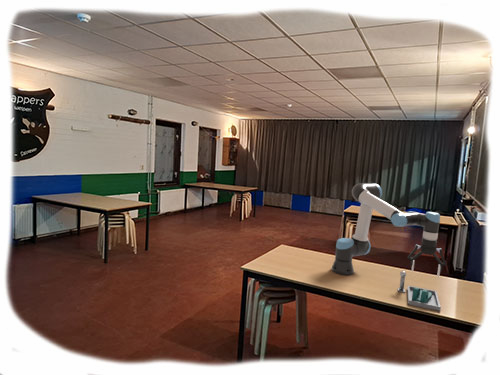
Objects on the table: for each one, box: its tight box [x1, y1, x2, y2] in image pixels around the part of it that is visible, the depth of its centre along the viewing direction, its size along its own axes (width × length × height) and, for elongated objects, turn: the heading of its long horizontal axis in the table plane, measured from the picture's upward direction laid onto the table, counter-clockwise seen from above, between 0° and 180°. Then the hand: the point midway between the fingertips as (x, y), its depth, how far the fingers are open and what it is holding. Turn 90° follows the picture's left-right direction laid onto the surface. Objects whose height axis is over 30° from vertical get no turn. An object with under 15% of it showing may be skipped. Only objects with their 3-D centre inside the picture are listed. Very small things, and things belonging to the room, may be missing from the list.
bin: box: [406, 285, 442, 312], centre depth 195 cm, size 16×24×2 cm, turn 156°
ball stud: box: [397, 270, 407, 293], centre depth 205 cm, size 4×4×13 cm
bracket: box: [412, 286, 432, 303], centre depth 194 cm, size 18×7×8 cm, turn 137°
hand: (425, 273), depth 194 cm, fingers open, 13 cm apart
